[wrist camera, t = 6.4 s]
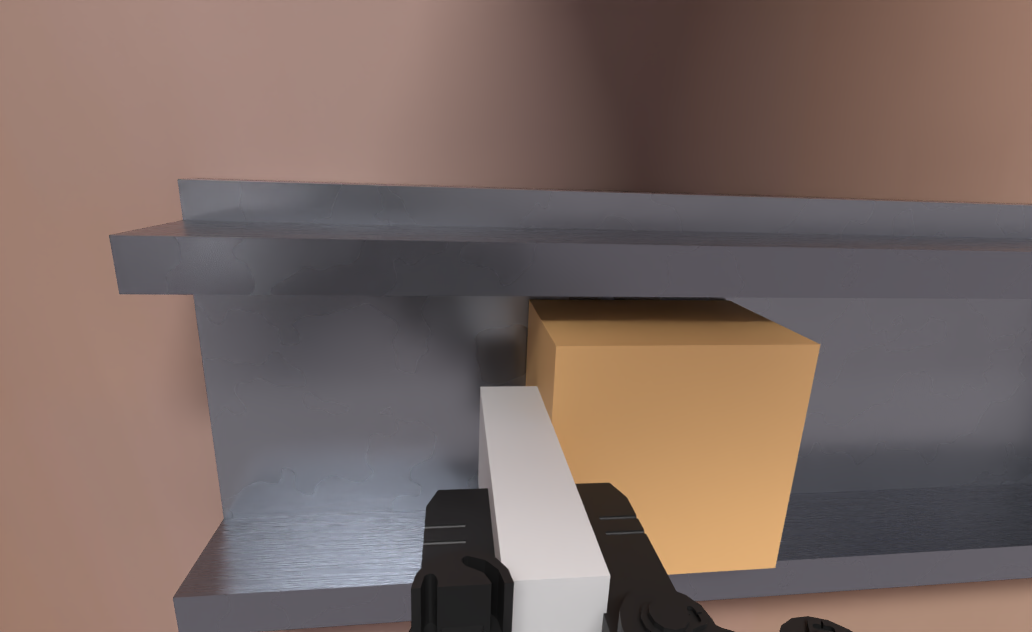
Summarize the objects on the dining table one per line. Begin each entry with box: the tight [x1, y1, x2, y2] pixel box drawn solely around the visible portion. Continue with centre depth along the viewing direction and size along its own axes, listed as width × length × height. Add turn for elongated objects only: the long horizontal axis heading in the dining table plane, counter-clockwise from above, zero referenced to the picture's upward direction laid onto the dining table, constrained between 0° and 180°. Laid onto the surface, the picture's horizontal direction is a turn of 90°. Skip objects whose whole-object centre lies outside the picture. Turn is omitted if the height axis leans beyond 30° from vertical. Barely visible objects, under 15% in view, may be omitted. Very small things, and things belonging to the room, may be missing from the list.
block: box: [525, 300, 820, 575], centre depth 14 cm, size 6×6×4 cm
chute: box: [109, 178, 1032, 632], centre depth 16 cm, size 32×12×4 cm, turn 88°
